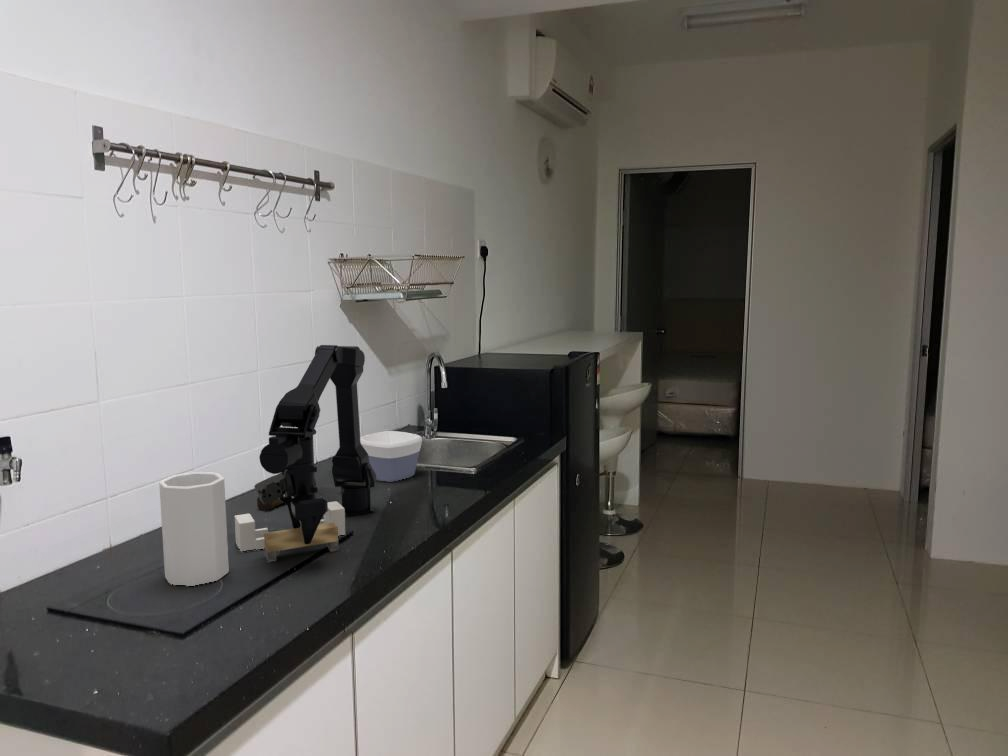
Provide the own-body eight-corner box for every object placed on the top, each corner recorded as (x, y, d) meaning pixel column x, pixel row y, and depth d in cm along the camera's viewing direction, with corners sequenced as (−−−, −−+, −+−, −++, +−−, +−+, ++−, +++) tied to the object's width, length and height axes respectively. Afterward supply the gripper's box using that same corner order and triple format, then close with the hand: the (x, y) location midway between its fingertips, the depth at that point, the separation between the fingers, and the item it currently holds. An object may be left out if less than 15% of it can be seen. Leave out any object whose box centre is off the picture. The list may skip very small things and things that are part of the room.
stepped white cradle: (337, 526, 171) (336, 500, 170) (345, 536, 165) (345, 509, 164) (235, 542, 161) (234, 515, 160) (241, 553, 155) (239, 524, 154)
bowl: (390, 466, 224) (389, 429, 223) (430, 474, 215) (429, 435, 214) (350, 477, 212) (349, 438, 210) (391, 487, 203) (390, 445, 201)
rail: (334, 545, 159) (333, 522, 159) (338, 550, 157) (337, 526, 156) (265, 557, 153) (264, 533, 152) (268, 562, 150) (267, 537, 149)
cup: (190, 592, 136) (184, 491, 133) (151, 579, 142) (145, 481, 139) (241, 571, 145) (237, 476, 143) (203, 560, 151) (198, 468, 149)
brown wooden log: (268, 513, 181) (267, 494, 181) (256, 510, 183) (255, 491, 183) (324, 493, 198) (323, 476, 197) (312, 491, 200) (312, 474, 199)
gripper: (248, 455, 157) (251, 529, 159) (266, 477, 140) (270, 559, 142) (303, 449, 162) (305, 521, 164) (327, 469, 145) (329, 548, 148)
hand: (301, 536), depth 154 cm, fingers open, 9 cm apart
